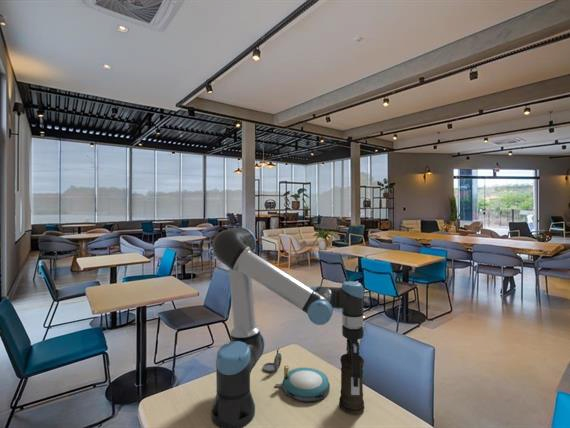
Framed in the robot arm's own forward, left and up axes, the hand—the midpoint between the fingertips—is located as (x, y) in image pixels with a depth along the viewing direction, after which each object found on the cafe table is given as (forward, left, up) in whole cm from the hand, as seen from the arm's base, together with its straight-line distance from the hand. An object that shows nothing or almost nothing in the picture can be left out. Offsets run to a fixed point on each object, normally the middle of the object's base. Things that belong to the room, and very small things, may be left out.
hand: (352, 382), depth 112 cm
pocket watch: (-32, +22, -9) cm, 40 cm away
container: (0, 0, -9) cm, 9 cm away
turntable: (-17, +10, -7) cm, 21 cm away
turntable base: (-19, +10, -9) cm, 23 cm away
